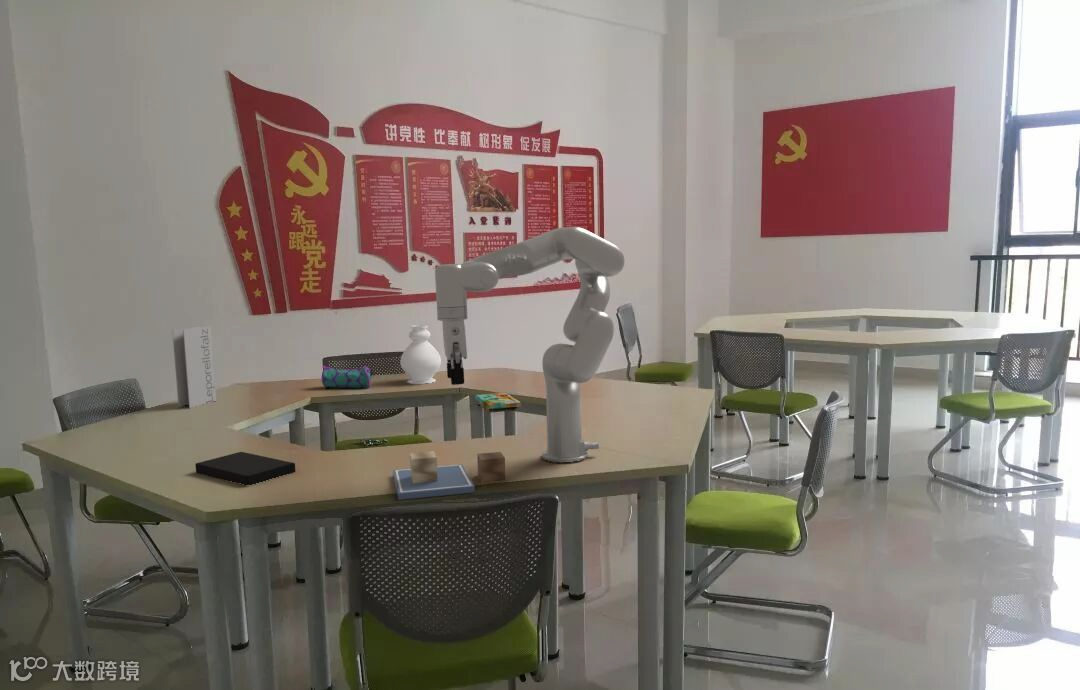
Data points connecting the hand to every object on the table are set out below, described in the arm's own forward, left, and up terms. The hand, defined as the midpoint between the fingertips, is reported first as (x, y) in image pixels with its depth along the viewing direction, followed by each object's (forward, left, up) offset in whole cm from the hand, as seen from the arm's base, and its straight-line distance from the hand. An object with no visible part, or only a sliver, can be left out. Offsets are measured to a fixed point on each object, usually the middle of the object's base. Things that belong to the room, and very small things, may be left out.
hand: (455, 380), depth 195 cm
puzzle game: (-26, -80, -25) cm, 88 cm away
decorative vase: (-5, -148, -25) cm, 151 cm away
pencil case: (+27, -145, -25) cm, 150 cm away
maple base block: (+9, +5, -23) cm, 26 cm away
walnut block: (-8, +5, -25) cm, 26 cm away
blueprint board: (+7, +5, -25) cm, 26 cm away
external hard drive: (+54, -21, -26) cm, 64 cm away
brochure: (+84, -128, -25) cm, 156 cm away
